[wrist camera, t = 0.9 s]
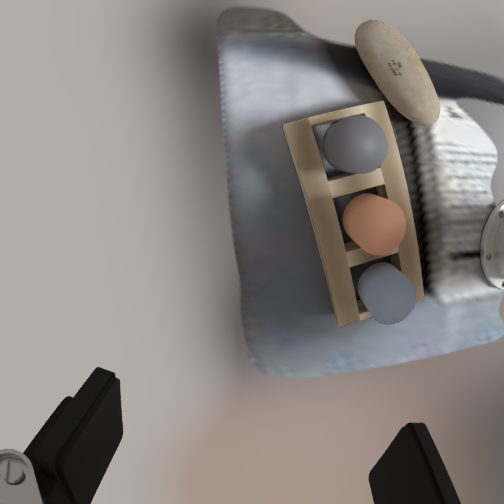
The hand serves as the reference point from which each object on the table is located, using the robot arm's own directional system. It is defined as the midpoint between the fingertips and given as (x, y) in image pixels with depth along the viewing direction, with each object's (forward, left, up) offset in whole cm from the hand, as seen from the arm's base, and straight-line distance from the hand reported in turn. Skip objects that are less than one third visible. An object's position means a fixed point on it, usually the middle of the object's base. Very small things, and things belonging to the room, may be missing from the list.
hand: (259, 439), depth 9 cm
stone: (-18, -13, -26) cm, 34 cm away
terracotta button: (-10, 0, -22) cm, 24 cm away
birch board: (-10, 0, -26) cm, 27 cm away
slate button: (-10, +7, -22) cm, 25 cm away
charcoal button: (-10, -7, -22) cm, 26 cm away
